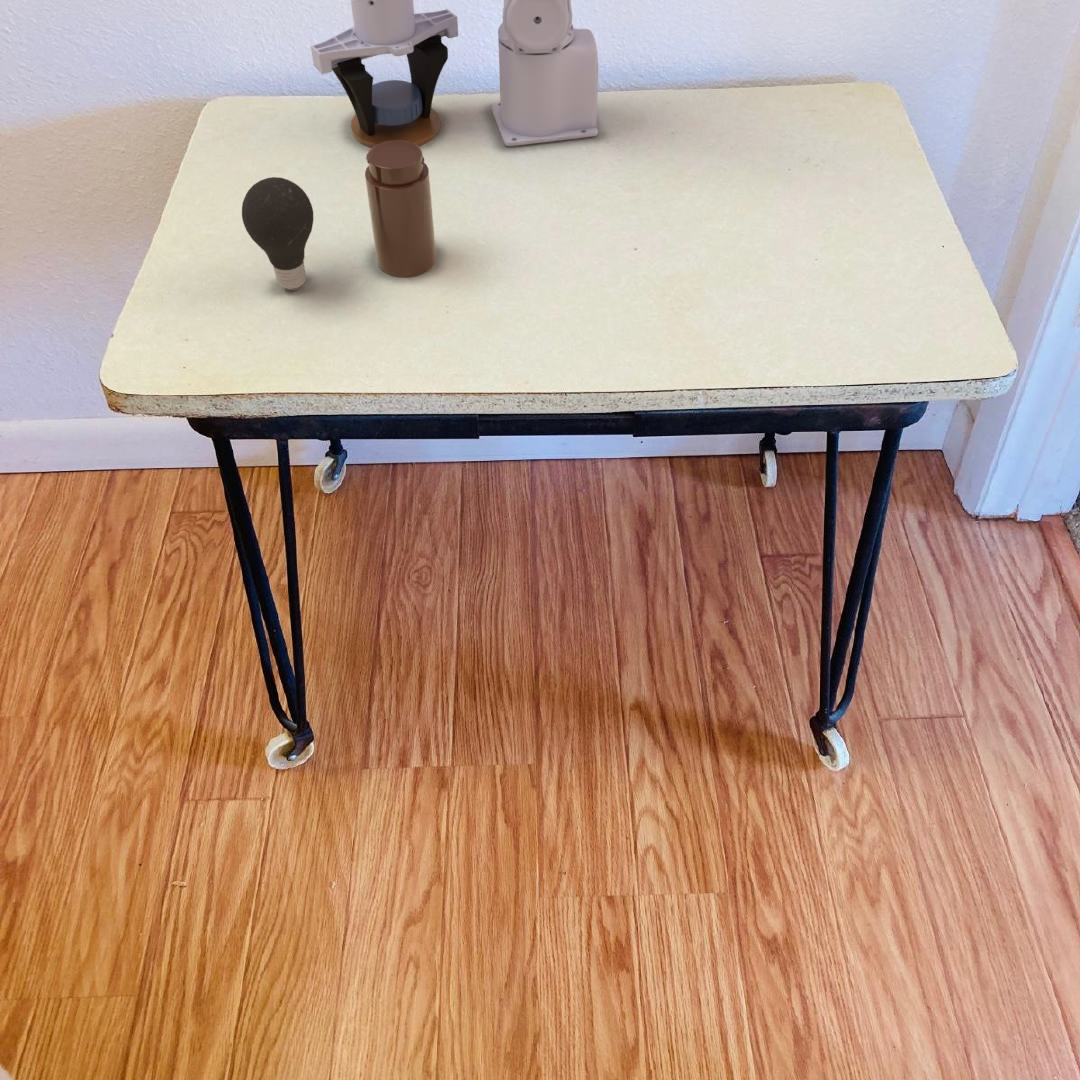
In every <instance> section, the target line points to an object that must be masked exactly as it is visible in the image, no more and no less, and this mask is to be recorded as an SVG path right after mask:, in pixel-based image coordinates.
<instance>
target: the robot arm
mask: <svg viewBox="0 0 1080 1080" xmlns="http://www.w3.org/2000/svg"><path fill="white" fill-rule="evenodd" d="M350 5H351V12H352V20H353V26H352V27H350V28H348V29H346V30H343V31H342V32H340V33H338V34H337V35H334V36H333V37H331V38H329V39H326V40H324V41H322V42H320V43H316V44H313V45H310V50H311V57H312V63H313V67H315V69H316V70H317V71H318V72H319V73H320V74H322V75H325V74H329V73H332V72H333V73H334V75H335V76H336V78H337V79H338V81H339V82H340V84H341V86H342V88H343V90H344V91H345V93H346V95H347V97H348V99H349V101H350V104H351V105H352V108H353V110H354V113H355V115H357V118H358V121H359V125H360V128H361V129H362V130H363V131H364V132H365V133H366V134H367V135H368V136H371V135H374V134H375V121H374V115H373V108H372V85H374V84H373V83H374V77H373V76H372V75H371V74H370V73H369V72H368V71H367V70H366V65H365V64H364V63H362V62H363V61H362V60H365V59H369V58H373V57H377V56H380V55H392V56H394V57H402V56H405V55H406V58H407V62H408V68H409V74H410V83H412V84H414V85H416V86H417V87H418V88H419V90H420V94H421V99H422V109H423V110H422V111H421V114H420V116H421V117H423V118H424V119H426V118H429V117H430V111H431V108H432V105H433V98H434V95H435V90H436V87H437V84H438V83H437V82H438V80H439V78H440V75H441V73H442V70H443V68H444V66H445V65H446V63H447V61H448V59H449V48H448V46H446V45H445V44H444V43H443V42H442V38H444V37H446V38H447V39H453V38H457V37H459V21H458V16H457V15H456V14H455V13H453V12H452V11H451V10H450V9H448V8H445V9H441V10H437V11H429V12H418V13H417V12H416V13H415V6H414V0H350ZM572 9H573V8H572V1H571V0H503V8H502V22H501V24H500V25H499V27H498V28H497V29H498V30H497V37H498V38H497V39H498V41H497V42H498V69H499V71H498V72H499V101H498V102H493V103H492V104H490V110H491V112H492V114H493V117H494V120H495V122H496V125H497V128H498V130H499V133H500V136H501V139H502V142H503V144H504V145H505V146H507V147H514V146H524V145H530V144H539V143H549V142H557V141H566V140H567V141H568V140H573V139H583V138H591V137H597V136H598V134H599V130H598V127H597V118H598V117H597V116H598V113H597V112H598V95H599V93H598V92H599V55H598V49H597V43H596V39H595V36H594V34H593V32H592V30H591V29H588V28H574V24H573V10H572Z"/></svg>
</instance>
